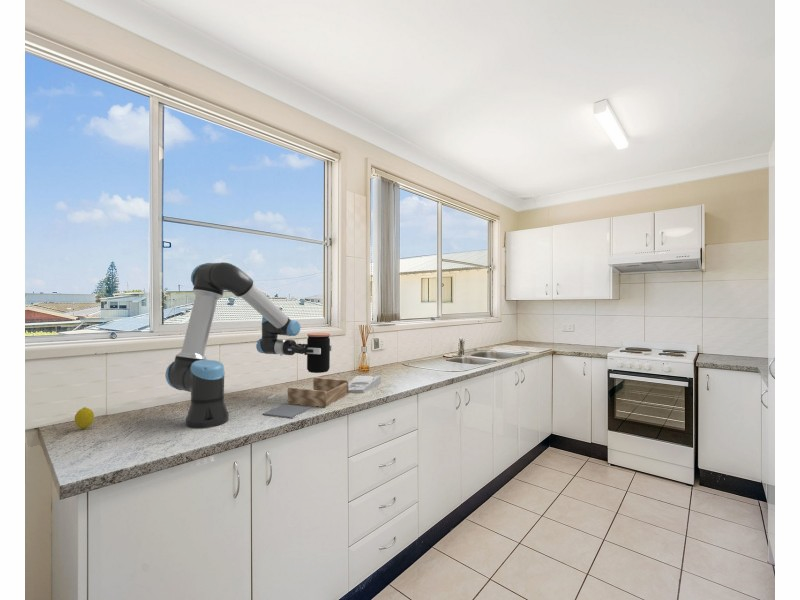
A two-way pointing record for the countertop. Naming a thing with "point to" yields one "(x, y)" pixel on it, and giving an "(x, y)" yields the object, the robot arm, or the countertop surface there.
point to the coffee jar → (318, 361)
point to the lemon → (84, 418)
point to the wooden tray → (319, 392)
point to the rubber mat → (286, 411)
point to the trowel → (363, 383)
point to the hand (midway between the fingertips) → (326, 349)
